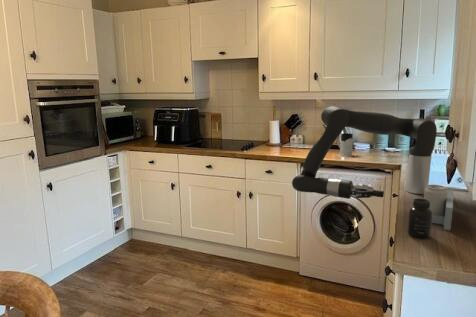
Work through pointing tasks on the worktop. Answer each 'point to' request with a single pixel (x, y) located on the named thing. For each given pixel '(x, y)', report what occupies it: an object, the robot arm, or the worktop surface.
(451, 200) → the stop bay
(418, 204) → the supplement bottle
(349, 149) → the glass holder
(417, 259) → the worktop surface
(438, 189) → the can
